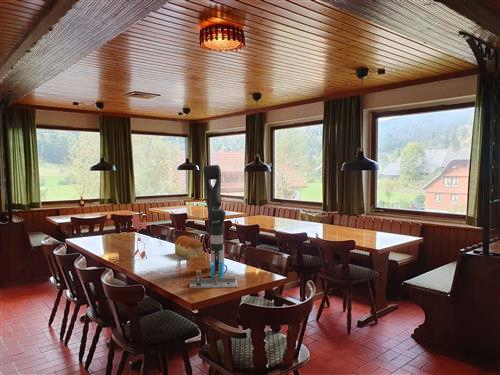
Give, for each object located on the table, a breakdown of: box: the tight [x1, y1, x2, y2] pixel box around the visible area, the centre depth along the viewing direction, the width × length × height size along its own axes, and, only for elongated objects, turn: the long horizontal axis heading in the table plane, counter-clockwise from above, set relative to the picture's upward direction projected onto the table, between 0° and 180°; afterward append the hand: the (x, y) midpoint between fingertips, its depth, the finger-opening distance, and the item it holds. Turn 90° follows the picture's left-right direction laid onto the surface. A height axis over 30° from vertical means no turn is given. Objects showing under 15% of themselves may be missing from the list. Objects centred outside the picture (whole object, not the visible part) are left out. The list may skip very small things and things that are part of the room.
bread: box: [174, 235, 204, 260], centre depth 304 cm, size 25×12×15 cm, turn 36°
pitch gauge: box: [189, 269, 239, 289], centre depth 227 cm, size 10×28×8 cm, turn 96°
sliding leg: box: [214, 263, 219, 283], centre depth 228 cm, size 8×3×10 cm, turn 6°
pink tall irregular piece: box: [126, 213, 148, 262], centre depth 292 cm, size 15×26×35 cm, turn 45°
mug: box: [210, 262, 228, 278], centre depth 247 cm, size 12×8×8 cm
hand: (216, 270), depth 230 cm, fingers closed on sliding leg, 3 cm apart
